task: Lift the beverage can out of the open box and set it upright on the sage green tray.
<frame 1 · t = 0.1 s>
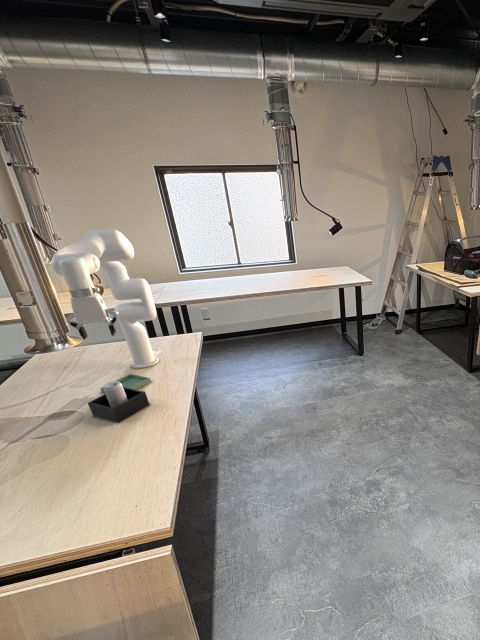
hand: (99, 336, 158), 31 cm above the table, tool pointing down, fingers open, 9 cm apart
beverage can: (121, 410, 169), resting on open box
open box: (122, 410, 169), on the table
tray: (127, 386, 188), on the table
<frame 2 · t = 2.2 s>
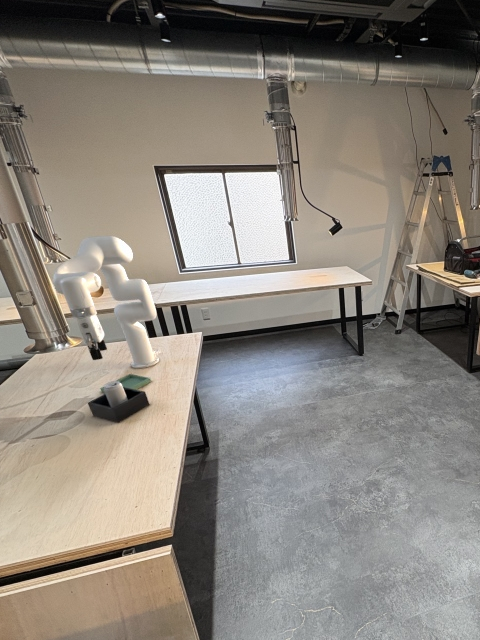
hand: (100, 354, 157), 25 cm above the table, tool pointing down, fingers open, 9 cm apart
nothing on the table moved.
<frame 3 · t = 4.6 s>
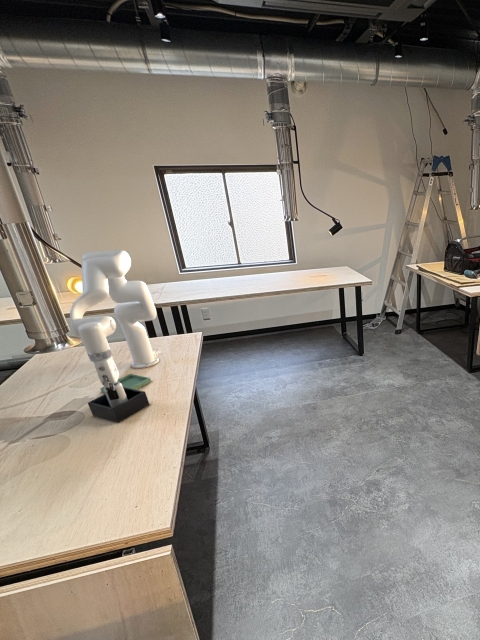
hand: (115, 394, 166), 7 cm above the table, tool pointing down, fingers closed on beverage can, 6 cm apart
beverage can: (121, 410, 169), resting on open box, touching gripper
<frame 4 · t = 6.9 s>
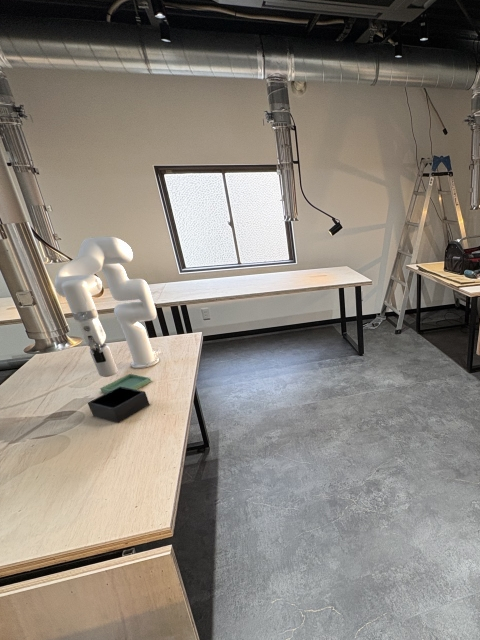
hand: (102, 358, 160), 23 cm above the table, tool pointing down, fingers closed on beverage can, 6 cm apart
beverage can: (109, 374, 163), point 16 cm above the table, touching gripper
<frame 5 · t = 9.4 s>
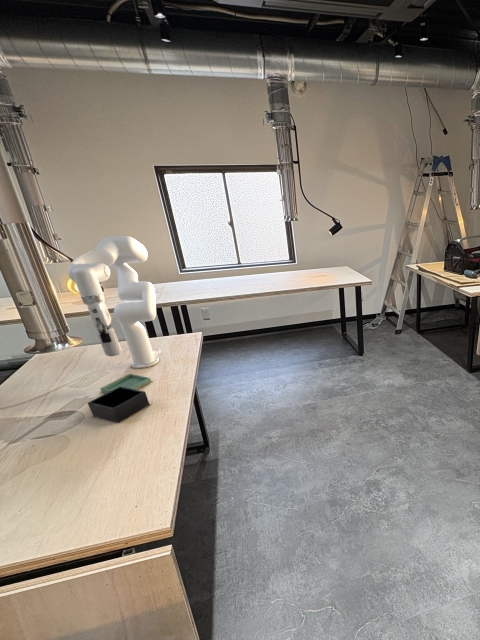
hand: (108, 339, 176), 24 cm above the table, tool pointing down, fingers closed on beverage can, 6 cm apart
beverage can: (114, 354, 179), point 17 cm above the table, touching gripper
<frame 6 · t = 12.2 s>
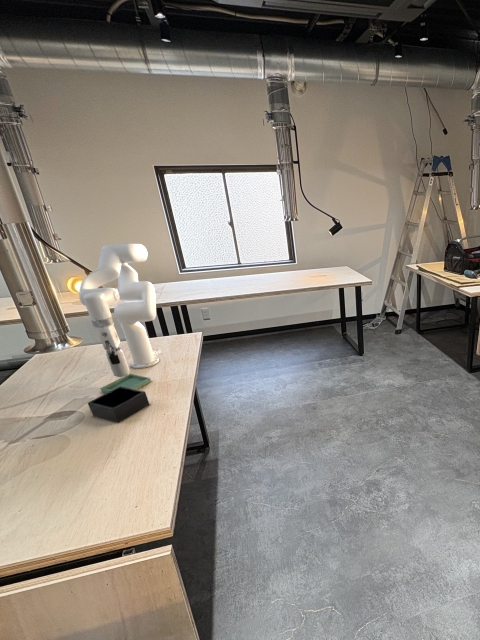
hand: (117, 360, 182), 13 cm above the table, tool pointing down, fingers closed on beverage can, 6 cm apart
beverage can: (122, 374, 185), point 6 cm above the table, touching gripper
when the fingers open (7 cm above the table, at t = 14.5 s): beverage can stays where it is, resting on tray.
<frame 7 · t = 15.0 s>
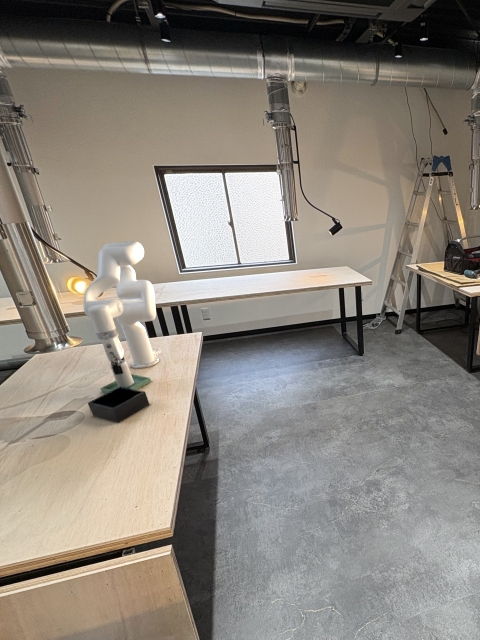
hand: (120, 369, 184), 9 cm above the table, tool pointing down, fingers open, 9 cm apart
beverage can: (126, 386, 188), resting on tray
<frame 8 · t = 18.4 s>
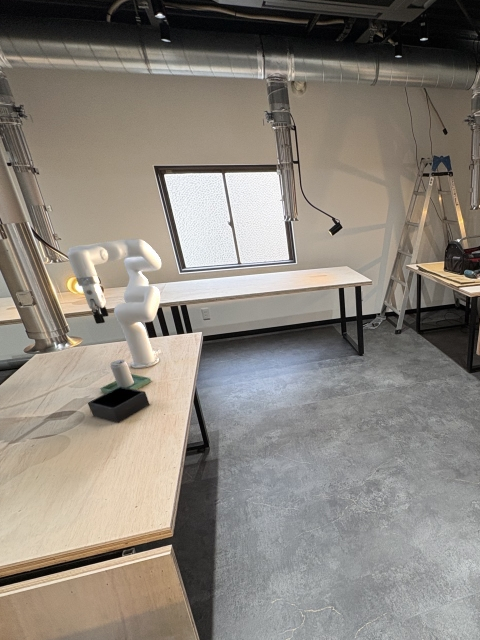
hand: (102, 319, 179), 30 cm above the table, tool pointing down, fingers open, 9 cm apart
nothing on the table moved.
at the end: beverage can inside the target area in the tray (0.0 cm from its centre), point 0.3 cm above the tray's base; beverage can tilted 0°; the gripper is holding nothing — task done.
